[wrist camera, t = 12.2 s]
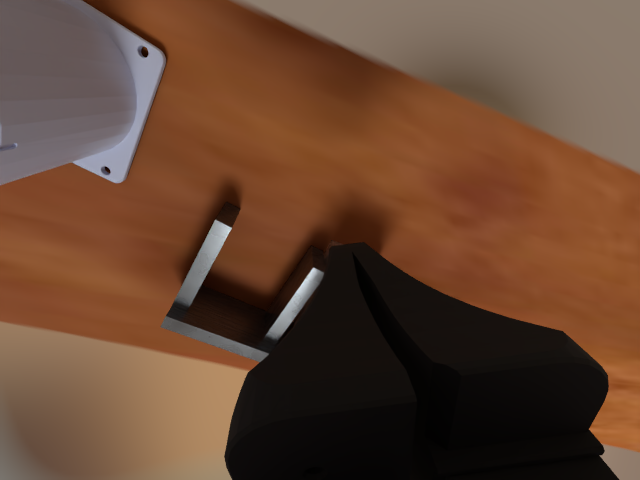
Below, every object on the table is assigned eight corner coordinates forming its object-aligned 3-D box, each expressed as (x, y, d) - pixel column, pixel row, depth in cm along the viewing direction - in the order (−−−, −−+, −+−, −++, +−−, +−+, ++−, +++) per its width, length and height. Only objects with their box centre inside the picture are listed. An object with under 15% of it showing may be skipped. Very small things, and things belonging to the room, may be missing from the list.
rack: (182, 289, 22) (154, 337, 18) (226, 201, 19) (206, 233, 15) (392, 373, 28) (409, 424, 24) (450, 316, 25) (481, 362, 21)
